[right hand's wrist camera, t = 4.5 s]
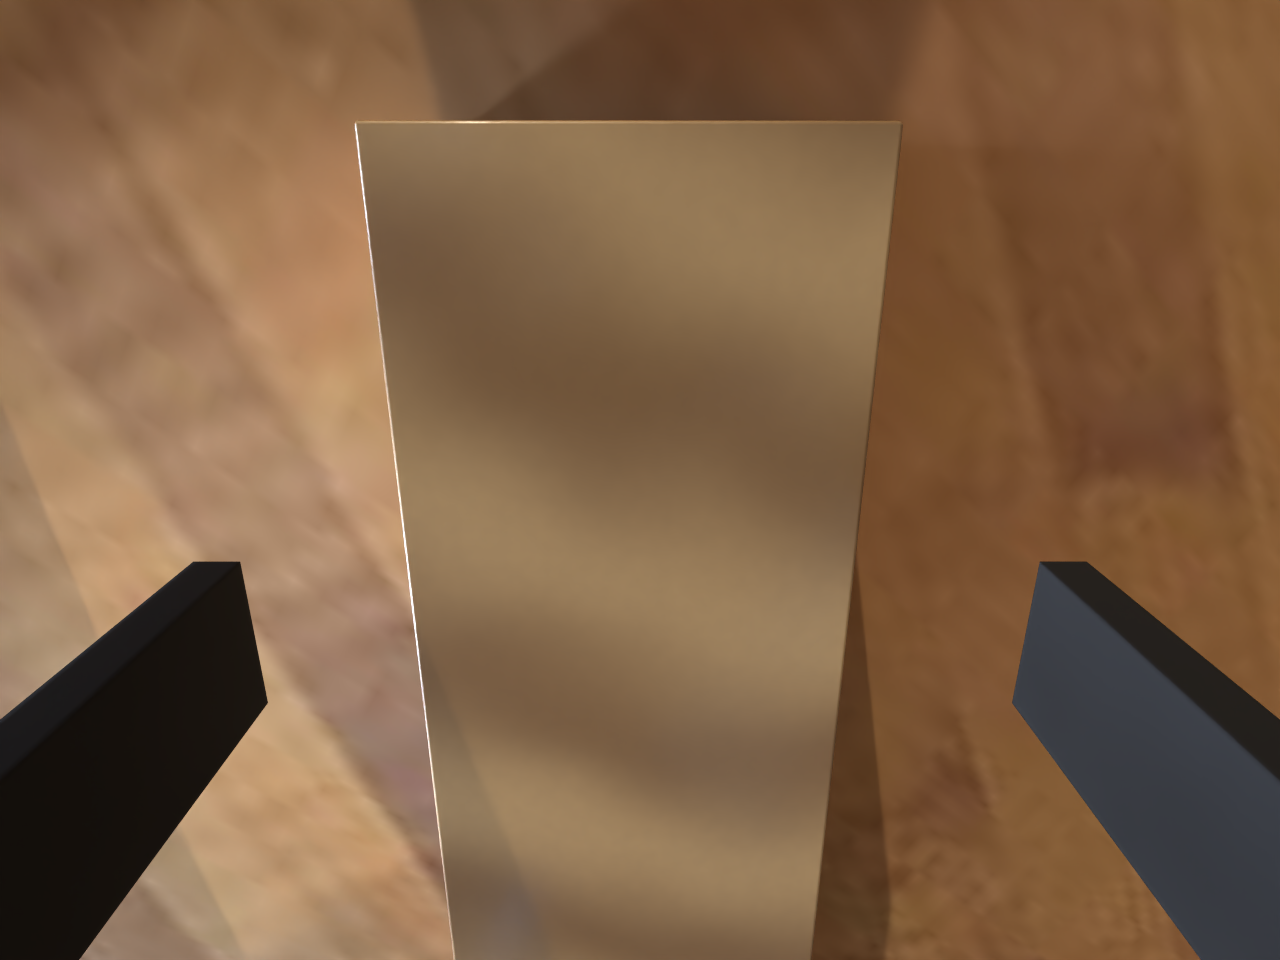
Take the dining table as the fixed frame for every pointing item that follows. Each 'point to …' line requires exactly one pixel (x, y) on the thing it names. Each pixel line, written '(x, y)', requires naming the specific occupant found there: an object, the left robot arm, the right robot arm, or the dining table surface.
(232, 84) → the dining table surface
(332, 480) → the dining table surface
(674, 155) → the long beam
